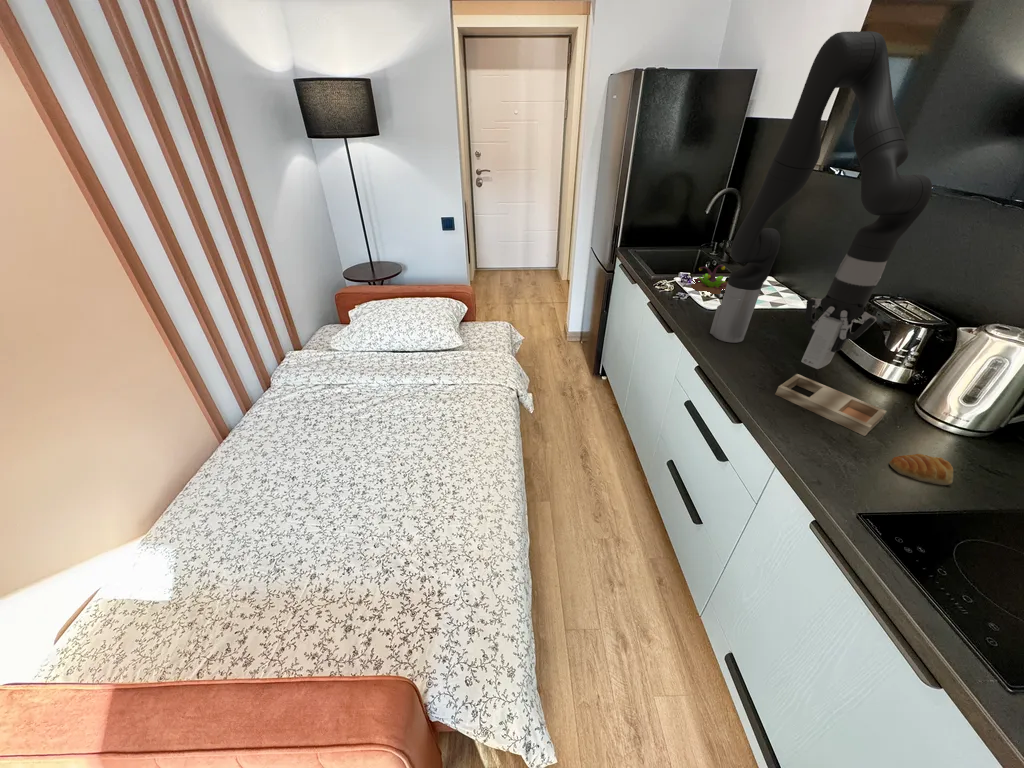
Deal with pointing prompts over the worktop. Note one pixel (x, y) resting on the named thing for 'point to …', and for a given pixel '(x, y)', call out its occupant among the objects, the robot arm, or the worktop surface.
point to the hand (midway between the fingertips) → (822, 346)
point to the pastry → (924, 468)
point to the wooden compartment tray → (832, 404)
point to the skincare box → (822, 343)
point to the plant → (710, 282)
